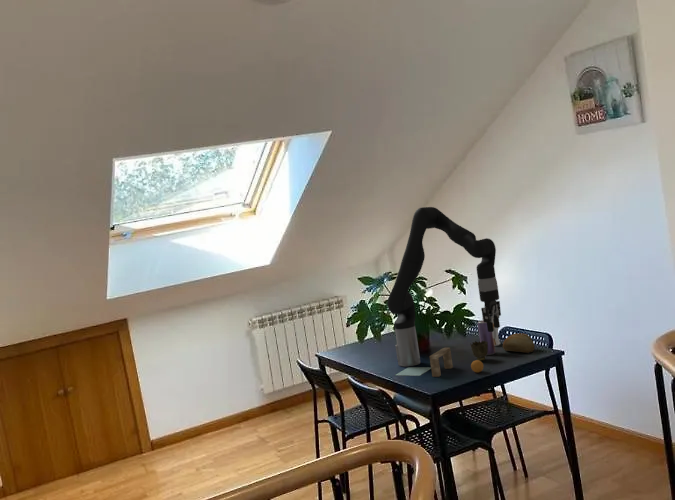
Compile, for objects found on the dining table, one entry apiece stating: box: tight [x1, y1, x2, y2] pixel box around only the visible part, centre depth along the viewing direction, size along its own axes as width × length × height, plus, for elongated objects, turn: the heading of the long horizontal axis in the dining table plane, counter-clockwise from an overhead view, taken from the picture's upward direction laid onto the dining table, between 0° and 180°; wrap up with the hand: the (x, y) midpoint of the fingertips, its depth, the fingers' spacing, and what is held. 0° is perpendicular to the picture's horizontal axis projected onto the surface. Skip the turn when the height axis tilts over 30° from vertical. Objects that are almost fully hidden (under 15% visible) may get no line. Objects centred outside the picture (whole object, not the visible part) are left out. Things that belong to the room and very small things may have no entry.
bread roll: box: [502, 332, 535, 354], centre depth 323 cm, size 10×15×8 cm, turn 46°
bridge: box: [428, 347, 454, 378], centre depth 308 cm, size 3×14×9 cm, turn 146°
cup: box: [469, 340, 488, 362], centre depth 317 cm, size 8×7×8 cm
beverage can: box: [477, 319, 496, 356], centre depth 327 cm, size 6×6×15 cm
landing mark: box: [394, 366, 431, 377], centre depth 316 cm, size 12×12×1 cm
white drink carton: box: [481, 314, 501, 347], centre depth 342 cm, size 7×7×15 cm
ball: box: [470, 359, 484, 373], centre depth 299 cm, size 5×5×5 cm
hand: (494, 329), depth 293 cm, fingers open, 6 cm apart
